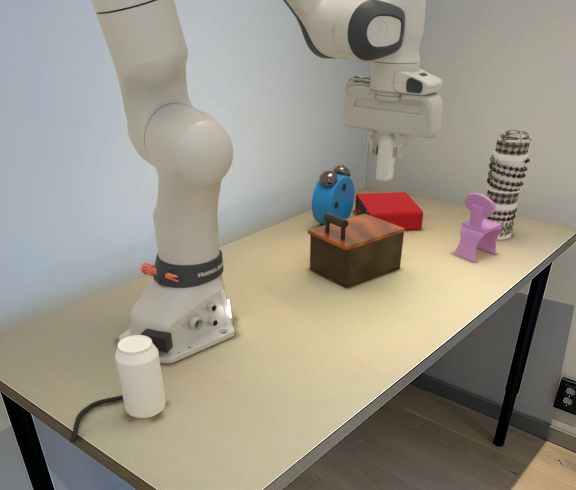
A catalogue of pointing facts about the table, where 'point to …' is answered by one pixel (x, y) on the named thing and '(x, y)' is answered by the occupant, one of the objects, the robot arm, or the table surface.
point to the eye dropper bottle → (385, 157)
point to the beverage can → (140, 376)
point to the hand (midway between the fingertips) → (386, 155)
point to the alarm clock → (333, 194)
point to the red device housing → (391, 208)
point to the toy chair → (478, 228)
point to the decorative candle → (507, 177)
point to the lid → (354, 230)
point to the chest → (356, 260)
